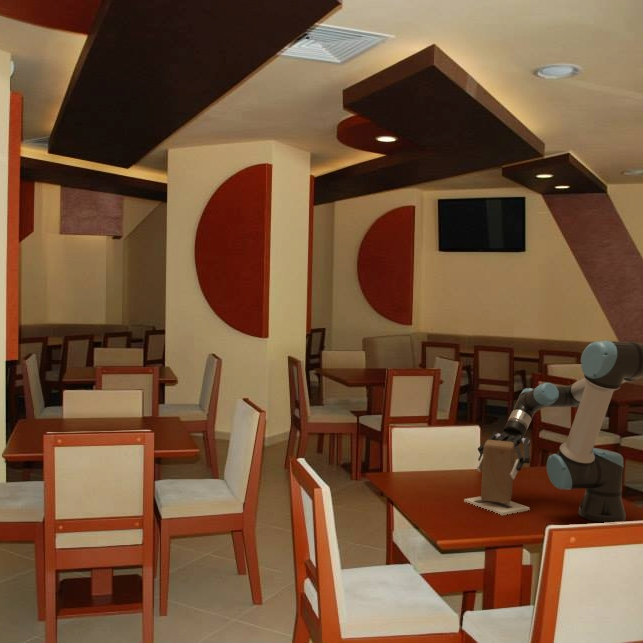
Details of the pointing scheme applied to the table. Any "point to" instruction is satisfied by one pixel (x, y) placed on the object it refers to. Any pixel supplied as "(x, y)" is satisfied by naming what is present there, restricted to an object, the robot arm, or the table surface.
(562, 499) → the table surface
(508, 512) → the letter board
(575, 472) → the robot arm
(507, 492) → the wooden block
